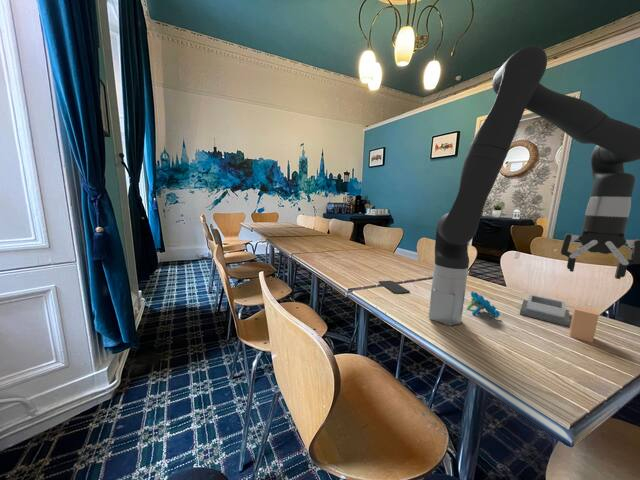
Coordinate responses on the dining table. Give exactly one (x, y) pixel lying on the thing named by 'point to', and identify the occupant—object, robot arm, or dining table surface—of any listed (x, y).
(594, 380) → the dining table surface
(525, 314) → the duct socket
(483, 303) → the blue toy figure
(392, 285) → the phone
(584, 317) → the tan rectangular block
